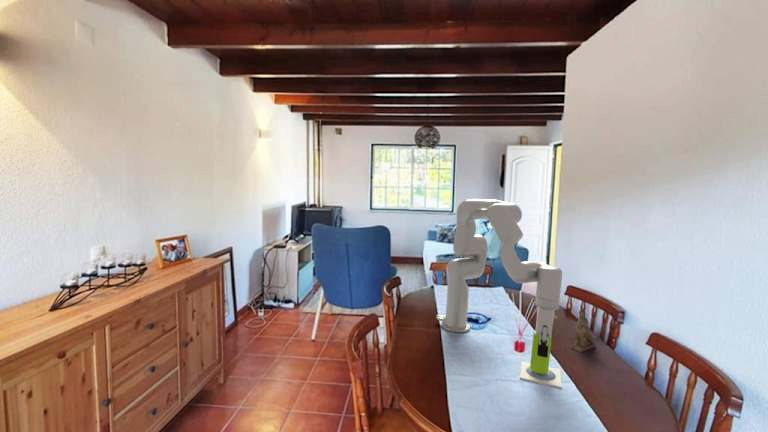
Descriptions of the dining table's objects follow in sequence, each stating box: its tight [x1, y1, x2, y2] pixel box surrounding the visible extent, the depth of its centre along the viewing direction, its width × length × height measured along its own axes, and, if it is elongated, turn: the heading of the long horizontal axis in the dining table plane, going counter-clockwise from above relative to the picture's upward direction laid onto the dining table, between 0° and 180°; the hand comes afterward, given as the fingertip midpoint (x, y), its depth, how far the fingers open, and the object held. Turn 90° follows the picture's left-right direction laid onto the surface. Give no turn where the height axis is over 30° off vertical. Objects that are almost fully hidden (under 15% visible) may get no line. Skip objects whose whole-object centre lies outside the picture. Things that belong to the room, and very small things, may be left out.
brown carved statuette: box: [570, 310, 596, 353], centre depth 157 cm, size 12×6×18 cm, turn 121°
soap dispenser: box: [529, 314, 558, 374], centre depth 133 cm, size 6×7×20 cm
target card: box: [519, 360, 563, 390], centre depth 134 cm, size 13×13×1 cm
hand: (542, 351), depth 133 cm, fingers closed on soap dispenser, 5 cm apart
